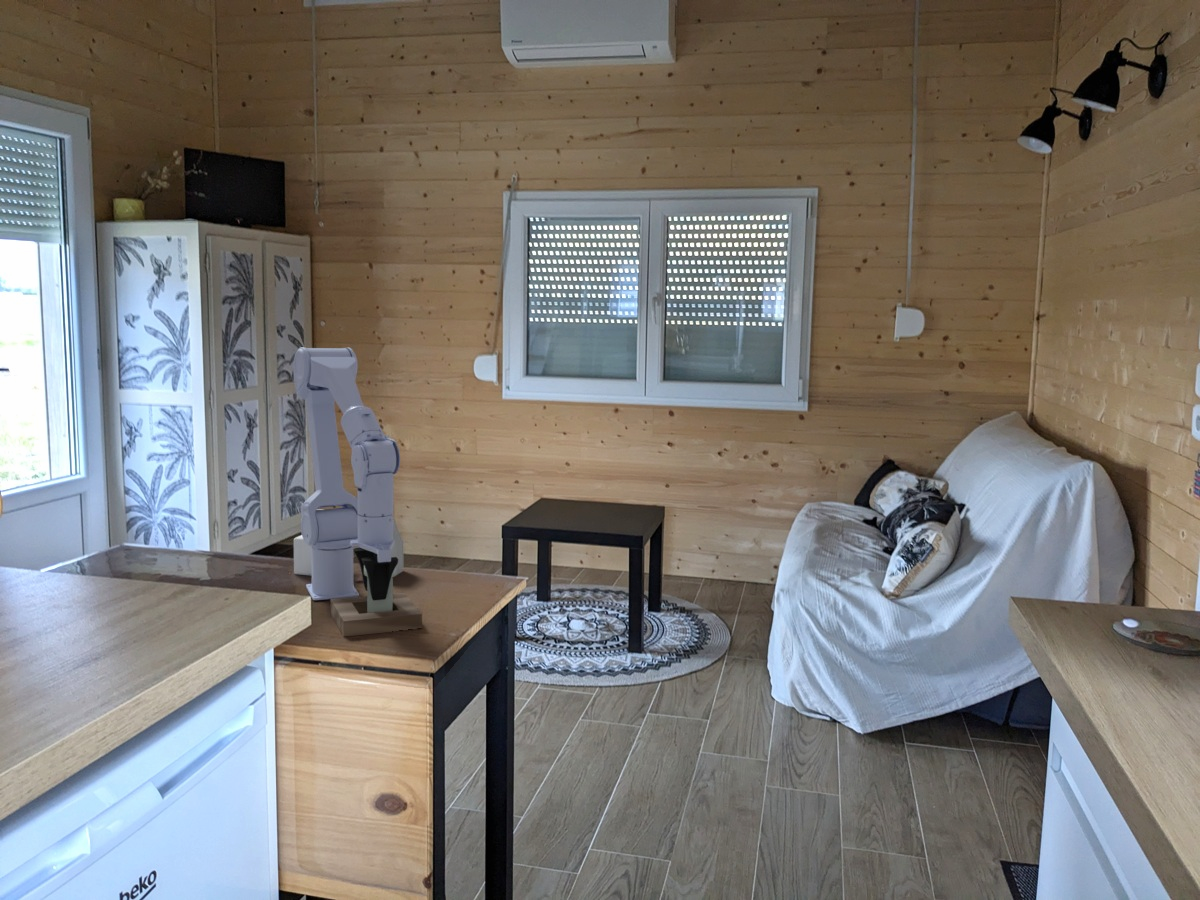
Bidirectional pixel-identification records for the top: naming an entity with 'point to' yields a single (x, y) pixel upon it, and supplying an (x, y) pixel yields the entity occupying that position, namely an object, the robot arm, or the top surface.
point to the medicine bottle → (302, 556)
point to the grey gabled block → (397, 549)
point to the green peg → (380, 604)
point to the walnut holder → (374, 616)
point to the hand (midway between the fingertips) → (375, 594)
